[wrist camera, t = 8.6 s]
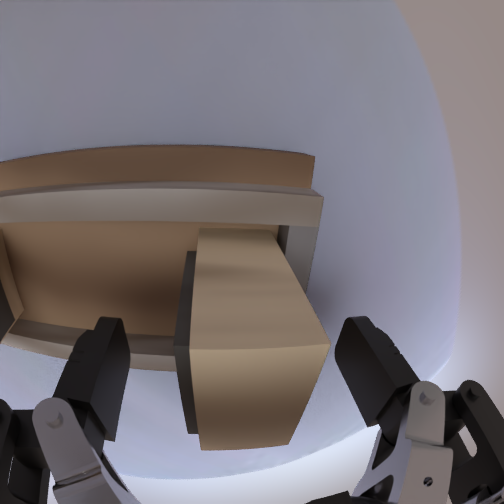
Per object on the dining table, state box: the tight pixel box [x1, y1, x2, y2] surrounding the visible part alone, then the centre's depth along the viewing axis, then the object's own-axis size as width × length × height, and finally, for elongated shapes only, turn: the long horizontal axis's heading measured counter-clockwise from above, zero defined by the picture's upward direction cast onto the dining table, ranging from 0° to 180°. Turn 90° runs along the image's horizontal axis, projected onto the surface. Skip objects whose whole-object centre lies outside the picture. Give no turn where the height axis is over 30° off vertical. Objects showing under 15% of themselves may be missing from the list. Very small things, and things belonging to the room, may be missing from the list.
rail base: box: [0, 145, 324, 372], centre depth 9 cm, size 12×20×8 cm, turn 85°
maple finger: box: [173, 227, 331, 450], centre depth 10 cm, size 5×3×7 cm, turn 175°
